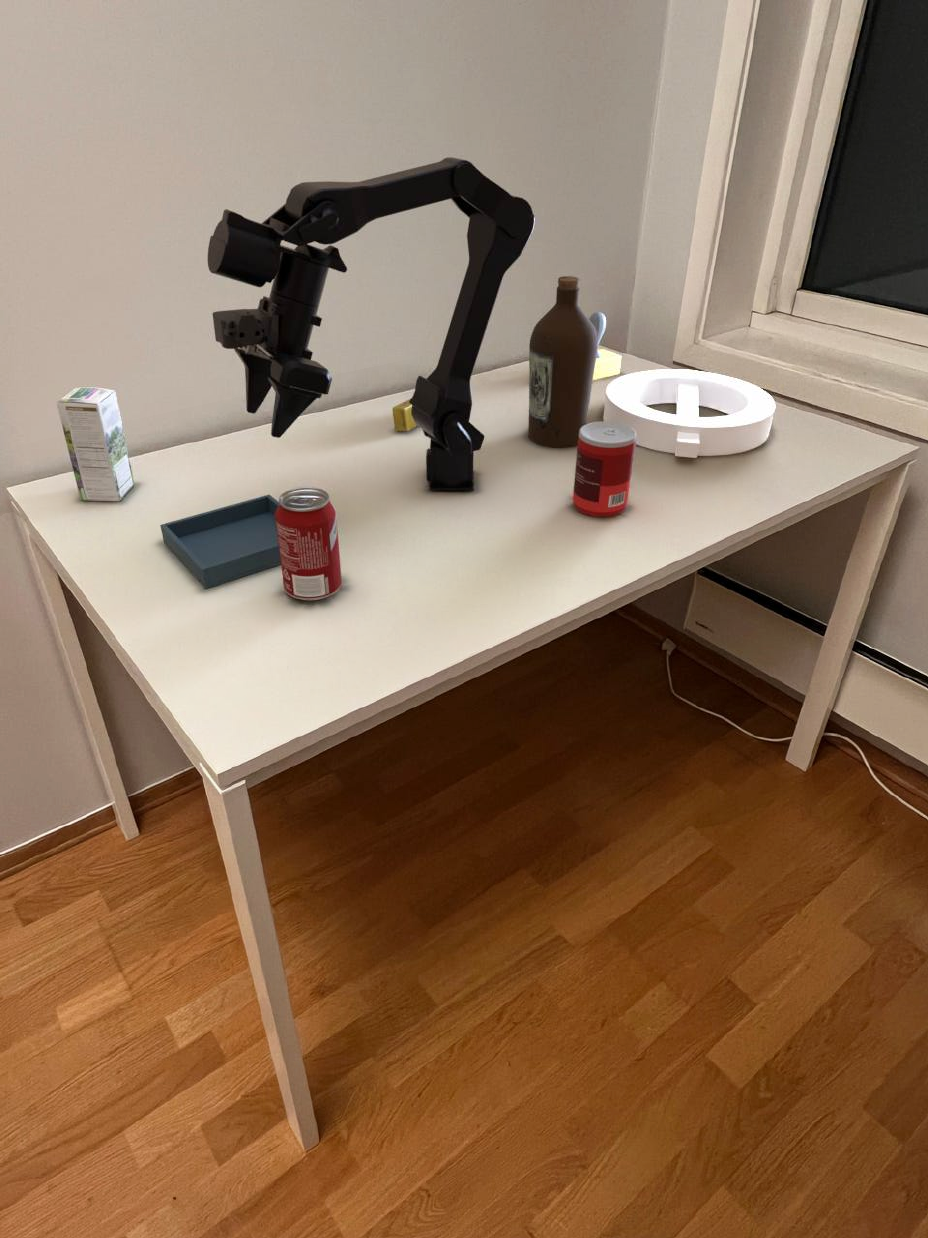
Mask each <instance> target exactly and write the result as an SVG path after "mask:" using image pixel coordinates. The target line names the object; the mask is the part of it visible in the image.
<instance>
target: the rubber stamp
mask: <svg viewBox="0 0 928 1238" xmlns="http://www.w3.org/2000/svg"><path fill="white" fill-rule="evenodd" d="M588 319H589V320H590V321H591V323H592V324H593V326H594V328H595V330H596V333H597V339H598V346H599V345H600V342H601V340H602V337H603V335H604V333H605V331H606V327H607V318H606V316H605V314H604V313H602V312H601V311H596V312H593V313H592V314H591V315H590V316H589V318H588ZM621 364H622V355H619V354H617V353H615V352H611V351H609V350H606V349H603V348H599V349H598V350H597V357H596V363H595V369H594V376H593V381H597V380H601V379H605V378H609V377H612V376H617V375H620V373H621Z"/></svg>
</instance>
